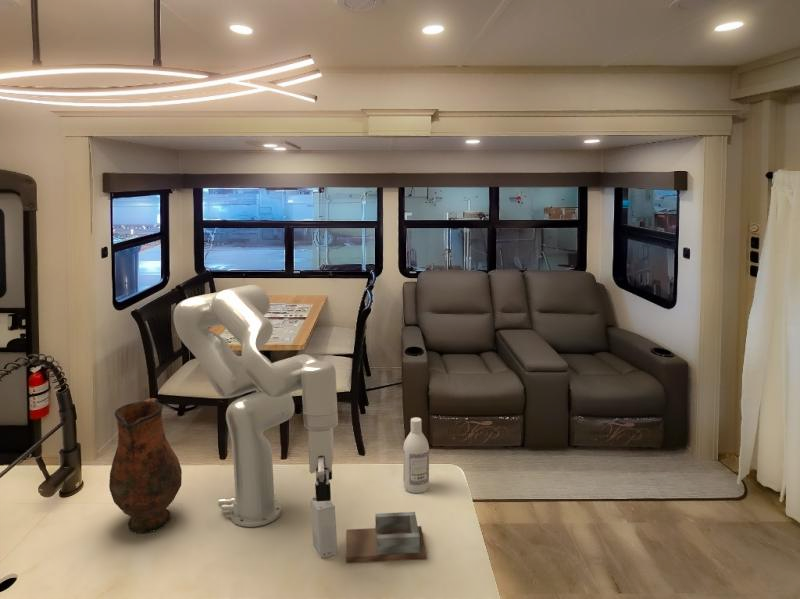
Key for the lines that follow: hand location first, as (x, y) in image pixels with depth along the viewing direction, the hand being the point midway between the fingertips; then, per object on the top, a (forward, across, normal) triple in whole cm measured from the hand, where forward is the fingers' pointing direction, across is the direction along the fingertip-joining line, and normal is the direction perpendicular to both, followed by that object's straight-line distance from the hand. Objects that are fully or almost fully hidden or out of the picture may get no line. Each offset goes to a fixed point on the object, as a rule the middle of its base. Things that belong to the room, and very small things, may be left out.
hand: (324, 489), depth 144 cm
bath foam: (+16, -28, +23) cm, 39 cm away
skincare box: (+16, -1, -1) cm, 16 cm away
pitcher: (+14, -19, -45) cm, 51 cm away
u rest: (+16, -1, +13) cm, 21 cm away
